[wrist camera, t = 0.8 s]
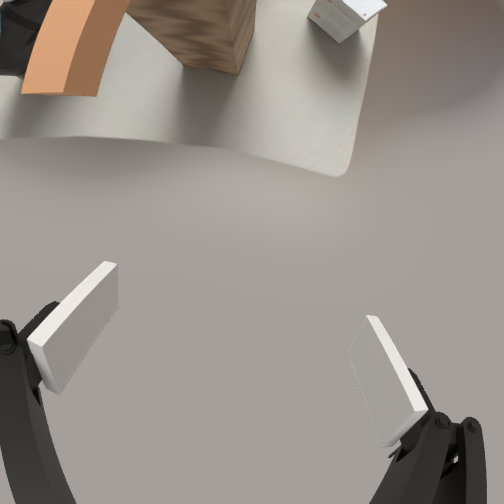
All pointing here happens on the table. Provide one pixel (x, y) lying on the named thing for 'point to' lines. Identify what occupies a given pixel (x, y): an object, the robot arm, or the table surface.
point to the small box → (344, 15)
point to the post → (199, 30)
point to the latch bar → (73, 47)
